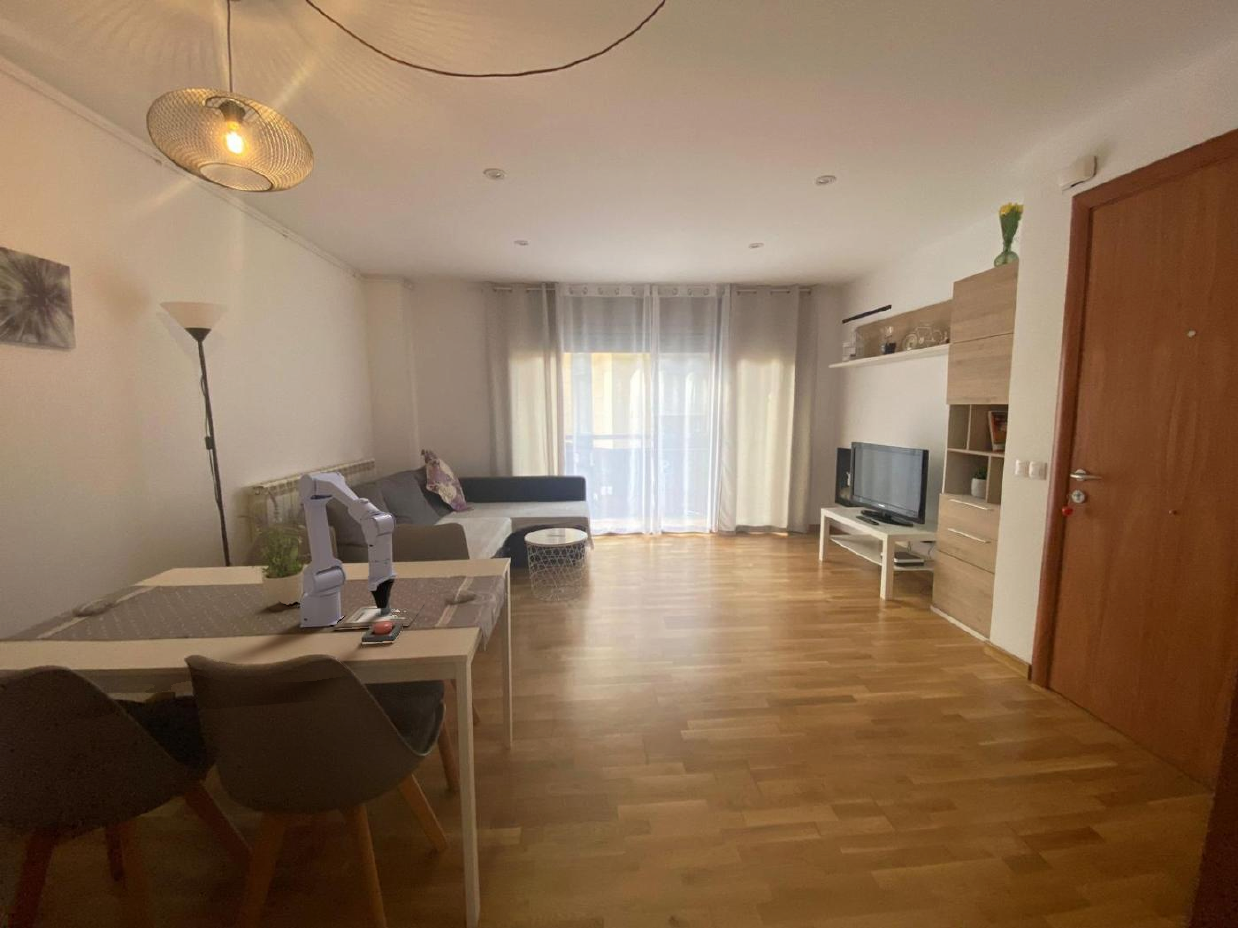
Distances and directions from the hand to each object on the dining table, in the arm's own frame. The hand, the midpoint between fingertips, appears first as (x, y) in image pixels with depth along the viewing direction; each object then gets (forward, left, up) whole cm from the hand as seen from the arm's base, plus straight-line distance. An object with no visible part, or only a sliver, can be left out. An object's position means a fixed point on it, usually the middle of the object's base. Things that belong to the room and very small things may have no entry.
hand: (382, 607), depth 125 cm
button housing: (0, 0, -8) cm, 8 cm away
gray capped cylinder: (-4, +14, -7) cm, 16 cm away
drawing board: (-5, +14, -8) cm, 17 cm away
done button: (0, 0, -7) cm, 7 cm away
